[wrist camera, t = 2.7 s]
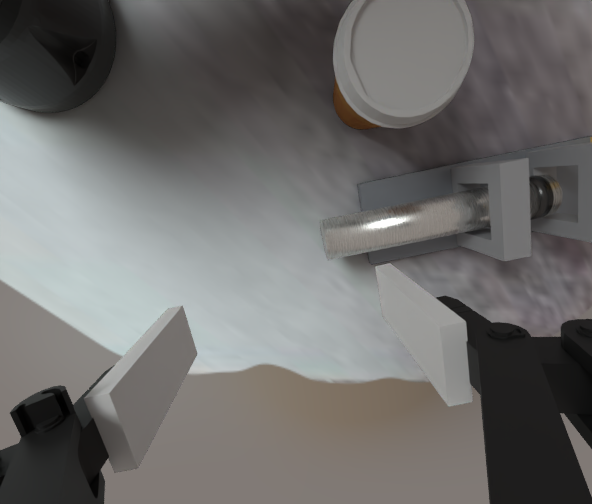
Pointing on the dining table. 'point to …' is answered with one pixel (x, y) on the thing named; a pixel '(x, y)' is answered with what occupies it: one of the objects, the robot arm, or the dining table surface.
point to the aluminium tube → (426, 219)
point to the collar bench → (443, 187)
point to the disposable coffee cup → (400, 60)
